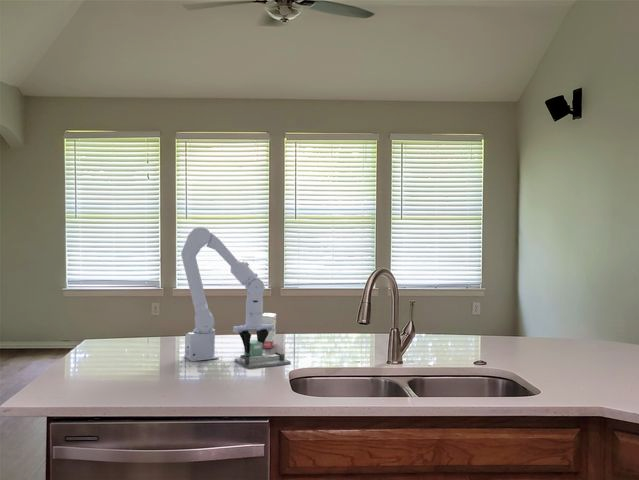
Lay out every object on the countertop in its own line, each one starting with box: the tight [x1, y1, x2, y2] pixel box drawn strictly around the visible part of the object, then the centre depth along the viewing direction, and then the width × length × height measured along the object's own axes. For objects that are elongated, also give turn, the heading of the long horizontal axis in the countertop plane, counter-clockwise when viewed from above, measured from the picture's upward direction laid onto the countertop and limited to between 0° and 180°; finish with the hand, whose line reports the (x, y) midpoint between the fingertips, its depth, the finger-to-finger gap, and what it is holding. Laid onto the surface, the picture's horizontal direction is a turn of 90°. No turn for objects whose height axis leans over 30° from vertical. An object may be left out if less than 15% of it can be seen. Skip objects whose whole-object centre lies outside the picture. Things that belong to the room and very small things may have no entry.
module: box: [243, 339, 264, 357], centre depth 187 cm, size 4×6×5 cm, turn 31°
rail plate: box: [234, 350, 292, 370], centre depth 178 cm, size 15×11×3 cm
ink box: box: [262, 312, 277, 349], centre depth 204 cm, size 9×5×12 cm, turn 177°
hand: (253, 352), depth 187 cm, fingers closed on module, 4 cm apart
